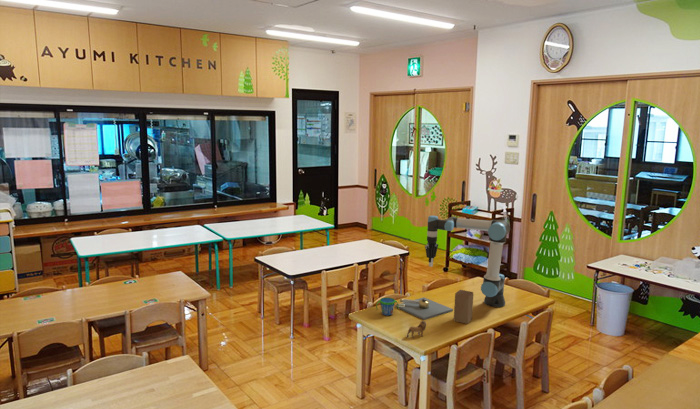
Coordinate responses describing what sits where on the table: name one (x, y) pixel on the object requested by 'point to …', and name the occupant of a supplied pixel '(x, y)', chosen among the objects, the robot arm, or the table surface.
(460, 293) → the wooden block
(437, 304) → the dial plate
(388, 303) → the snack cup
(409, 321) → the table surface
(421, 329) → the lion figurine
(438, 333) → the table surface
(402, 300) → the brass ladle
